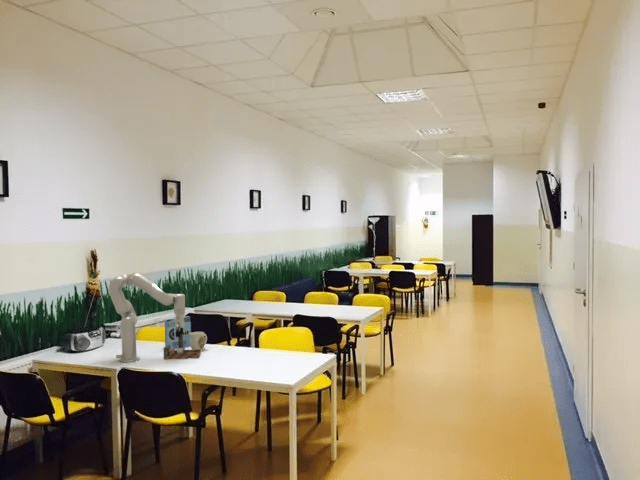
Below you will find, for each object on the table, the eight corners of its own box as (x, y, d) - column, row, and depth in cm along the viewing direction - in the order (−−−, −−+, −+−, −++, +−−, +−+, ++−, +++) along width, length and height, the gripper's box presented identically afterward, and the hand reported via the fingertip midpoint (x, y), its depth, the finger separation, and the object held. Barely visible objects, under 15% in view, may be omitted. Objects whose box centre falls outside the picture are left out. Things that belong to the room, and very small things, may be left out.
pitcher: (212, 348, 415) (211, 330, 415) (195, 353, 400) (194, 334, 400) (201, 347, 421) (201, 329, 421) (184, 352, 406) (183, 333, 405)
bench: (163, 359, 385) (163, 348, 384) (167, 356, 395) (166, 344, 394) (198, 358, 386) (198, 347, 386) (200, 354, 396) (200, 343, 396)
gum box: (167, 350, 413) (166, 320, 412) (164, 349, 417) (163, 319, 416) (191, 346, 425) (190, 316, 424) (189, 345, 429) (188, 316, 428)
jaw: (177, 355, 386) (176, 336, 386) (179, 352, 393) (178, 334, 393) (182, 355, 387) (182, 336, 386) (184, 352, 394) (184, 334, 393)
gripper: (182, 313, 381) (182, 337, 381) (187, 309, 398) (187, 333, 398) (171, 313, 380) (171, 337, 381) (176, 309, 397) (176, 333, 398)
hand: (179, 335), depth 390 cm, fingers open, 9 cm apart
